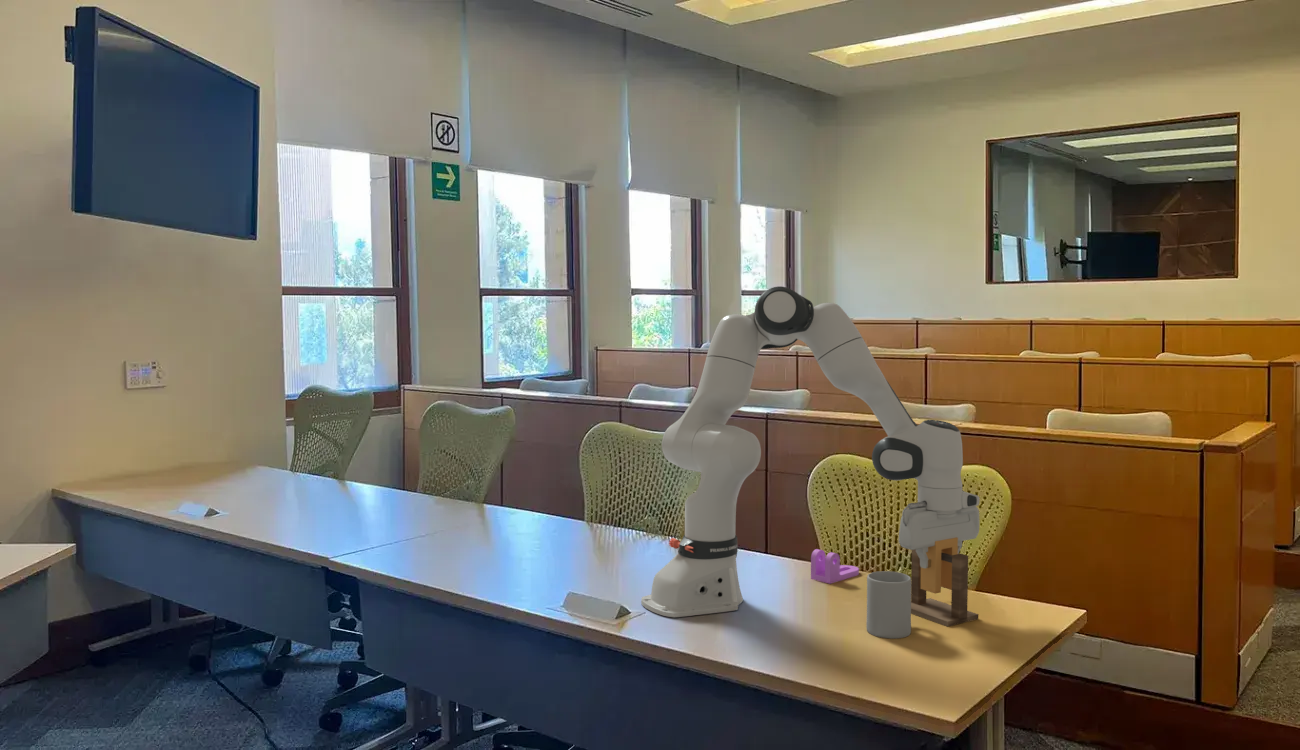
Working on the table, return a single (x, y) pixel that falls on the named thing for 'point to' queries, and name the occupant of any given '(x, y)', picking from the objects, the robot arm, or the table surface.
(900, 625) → the mug
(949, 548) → the tan arch block
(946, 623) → the stand with crossbar
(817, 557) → the bracket
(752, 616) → the table surface
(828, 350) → the robot arm
